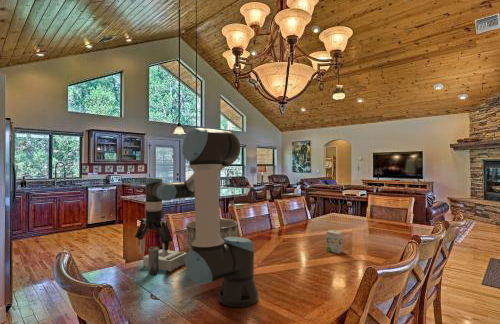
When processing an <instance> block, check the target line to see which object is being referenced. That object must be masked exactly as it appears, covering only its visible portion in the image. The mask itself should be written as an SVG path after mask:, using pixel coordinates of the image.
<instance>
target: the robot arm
mask: <svg viewBox="0 0 500 324" xmlns="http://www.w3.org/2000/svg"><path fill="white" fill-rule="evenodd" d="M181 145H182V147H181V153H182V156H183V158H184V160H185V161H188V162H189V168H191V169H192V170H193V174H191V175H190V177H188V178H187V180H186V181H184V182H181V181H180V182H164V181H163V177H162V178H161V177H147V178H146V180H145V214H144V215H145V217H144V218H142V219H140V224H139V227H138V229H137V230H136V233H135V236H134V237H135V238H137V239H138V246H139V254H144V253H145V252H146V238H145V237H146V235H147V233H148V232H149V231H151V230H152V231H156V232H157V233H158V235H159V236H160V238H161V239H162V241H163V242H162V257H166V256H167V254H168V250H169V249H170V246H169V245H170V244H169V243H171V242H173V240H174V239H173V237H172V234H171V232H170V231H171V230H170V228H169V227H168V226H169V225H168V220H163V221H162V218H163V210H162V209H163V201H165V202H166V201H169V202H170V201H172V200H177V199H178V200H179V199H190V198H191V199H192V198H194V220H195V229H196V239H195V240H194V241H193V242H192V250H191V251H189V252H188V251H187V252H186V253H187V254H186V257H185V264H184V265H185V269H186V272H187V275H188V276H189V278H190V279H191V280H192V282H194V283H195V284H197V285H204V284H211V283H212V282H215V281H218V280H220V279H221V280H222V283H221V285H220V289H219V291H218V301H219V303H220V302H221V303H222V304H221V303H220V304H221V305H223V304H224V305H223V306H225V305H226V306H225V307H228V306H230V307H229V308H233V307H242V308H247V307H246V306H248V307H251V306H252V304H253V305H255V304H257V301H258V300H259V292H258V287H257V285H256V281H255V279H254V278H255V277H254V275H255V273H254V272H255V271H254V267H255V266H254V264H255V262H254V259H255V258H254V256H255V254H254V253H255V250H254V242H253V241H252V240H251V239H249V238H245V237H241V236H237V237H226V238H224V240H223V239H222V238H221V237H220V220H219V218H220V196H219V195H220V194H219V193H220V192H219V190H220V189H219V173H220V172H221V171H222V170H223V169H225V168H226V167H231V165H232V164H234V163H235V162H236V160H237V159H238V158H239V157H240V154H241V149H242V147H241V142H240V140H239V138H238V137H237V136H236V134H234V133H233V132H231V131H229V130H221V129H214V128H213V129H212V128H205V127H203V128H202V127H201V128H200V127H195V128H194V127H193V128H191V129H190V130H189V131H188V132H186V134H185V136H184V138H183V142H182V144H181ZM254 303H255V304H254ZM250 305H251V306H250Z"/></svg>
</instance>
